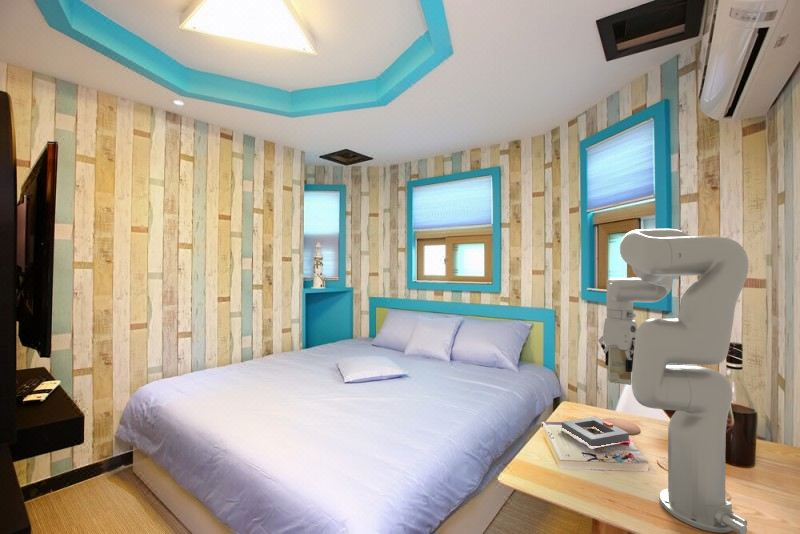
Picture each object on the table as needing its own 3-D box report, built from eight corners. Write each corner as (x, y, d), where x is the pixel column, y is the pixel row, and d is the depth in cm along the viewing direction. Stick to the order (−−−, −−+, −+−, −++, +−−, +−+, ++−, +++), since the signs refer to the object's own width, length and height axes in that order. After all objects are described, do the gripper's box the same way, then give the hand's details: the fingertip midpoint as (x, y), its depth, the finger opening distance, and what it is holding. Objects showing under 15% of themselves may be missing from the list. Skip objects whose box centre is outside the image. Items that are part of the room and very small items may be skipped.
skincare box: (609, 382, 115) (609, 346, 115) (607, 378, 119) (607, 343, 119) (632, 385, 112) (632, 347, 112) (629, 381, 116) (629, 345, 116)
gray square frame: (628, 442, 105) (628, 430, 105) (591, 449, 101) (591, 437, 101) (596, 425, 117) (596, 414, 117) (561, 430, 113) (561, 419, 113)
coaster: (648, 432, 112) (648, 430, 112) (622, 436, 109) (622, 435, 109) (618, 417, 122) (618, 416, 122) (593, 421, 119) (593, 420, 119)
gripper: (653, 318, 108) (653, 375, 108) (606, 311, 125) (606, 360, 125) (635, 319, 106) (635, 377, 106) (589, 312, 123) (589, 362, 123)
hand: (619, 367), depth 115 cm, fingers closed on skincare box, 7 cm apart
